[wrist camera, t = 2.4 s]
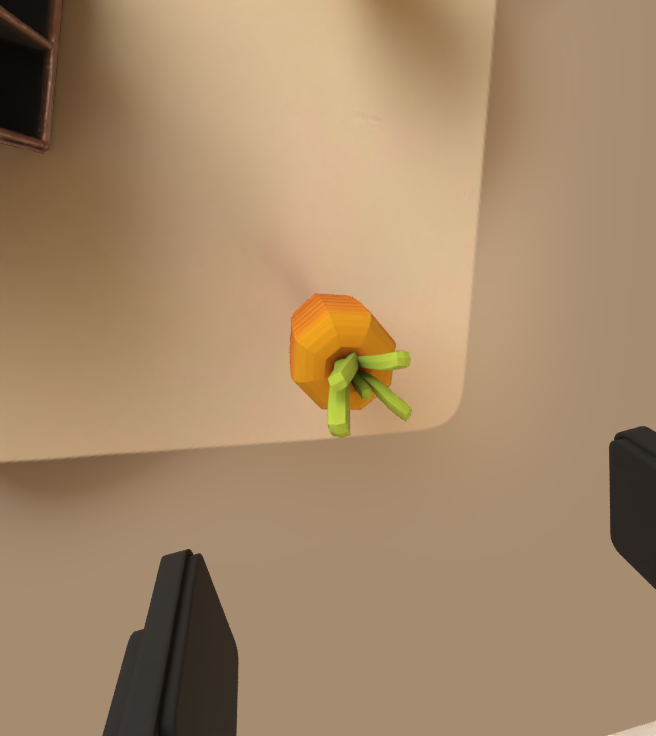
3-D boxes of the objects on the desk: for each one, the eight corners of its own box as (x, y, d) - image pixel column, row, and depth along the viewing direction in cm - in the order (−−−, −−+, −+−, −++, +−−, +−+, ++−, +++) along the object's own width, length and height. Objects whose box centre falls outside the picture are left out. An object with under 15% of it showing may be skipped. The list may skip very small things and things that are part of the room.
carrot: (343, 260, 31) (414, 317, 17) (365, 332, 33) (445, 438, 19) (267, 286, 31) (277, 365, 17) (294, 357, 33) (321, 482, 19)
